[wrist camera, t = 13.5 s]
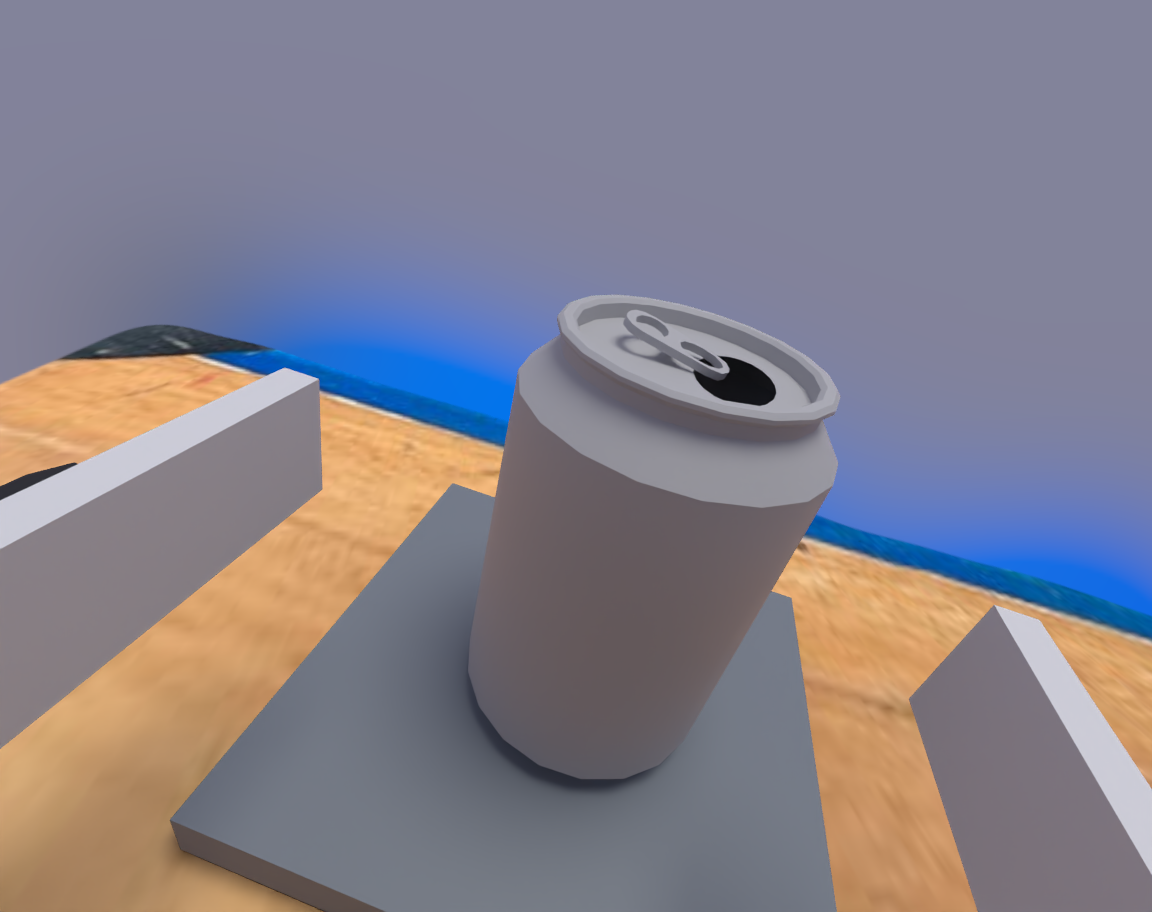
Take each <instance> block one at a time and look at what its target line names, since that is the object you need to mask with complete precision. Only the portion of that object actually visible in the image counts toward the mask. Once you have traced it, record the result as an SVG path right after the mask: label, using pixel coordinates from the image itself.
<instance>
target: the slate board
mask: <svg viewBox="0 0 1152 912" xmlns="http://www.w3.org/2000/svg"><path fill="white" fill-rule="evenodd" d="M494 502H495V498H494V497H491V496H489V495H486V494H483V493H480V492H477V491H474V490H471V489H468V488H465V487H462V486H459V485H456V484H452V485H451V486H450V487H449V488H448V489H447V491H446V492H445V493H444V494H443V495H442V497H441V498H440V499H439V500H438V501H437V503H436V504H435V505H434V506H433V507H432V509H431V510H430V511H429V512H428V513H427V514H426V516H425V517H424V518H423V519H422V520H421V522H420V523H419V524H418V525H417V526H416V528H415V529H414V530H413V531H412V532H411V534H410V535H409V536H408V537H407V538H406V539H405V541H404V542H403V543H402V544H401V545H400V547H399V548H398V549H397V550H396V551H395V553H394V554H393V555H392V556H391V557H390V559H389V560H388V561H387V562H386V563H385V564H384V566H383V567H382V568H381V569H380V570H379V572H378V573H377V574H376V575H375V576H374V578H373V579H372V580H371V581H370V582H369V583H368V585H367V586H366V587H365V588H364V589H363V591H362V592H361V593H360V594H359V595H358V597H357V598H356V599H355V600H354V601H353V603H352V604H351V605H350V606H349V607H348V608H347V610H346V611H345V612H344V613H343V614H342V616H341V617H340V618H339V619H338V620H337V622H336V623H335V624H334V625H333V626H332V628H331V629H330V630H329V631H328V632H327V633H326V635H325V636H324V637H323V638H322V639H321V641H320V642H319V643H318V644H317V645H316V647H315V648H314V649H313V650H312V651H311V653H310V654H309V655H308V656H307V657H306V658H305V660H304V661H303V662H302V663H301V664H300V666H299V667H298V668H297V669H296V670H295V672H294V673H293V674H292V675H291V676H290V678H289V679H288V680H287V681H286V682H285V683H284V685H283V686H282V687H281V688H280V689H279V691H278V692H277V693H276V694H275V695H274V697H273V698H272V699H271V700H270V701H269V703H268V704H267V705H266V706H265V707H264V708H263V710H262V711H261V712H260V713H259V714H258V716H257V717H256V718H255V719H254V720H253V722H252V723H251V724H250V725H249V726H248V728H247V729H246V730H245V731H244V732H243V733H242V735H241V736H240V737H239V738H238V739H237V741H236V742H235V743H234V744H233V745H232V747H231V748H230V749H229V750H228V751H227V753H226V754H225V755H224V756H223V757H222V758H221V760H220V761H219V762H218V763H217V764H216V766H215V767H214V768H213V769H212V770H211V772H210V773H209V774H208V775H207V776H206V778H205V779H204V780H203V781H202V782H201V783H200V785H199V786H198V787H197V788H196V789H195V791H194V792H193V793H192V794H191V795H190V797H189V798H188V799H187V800H186V801H185V802H184V804H183V805H182V806H181V807H180V808H179V810H178V811H177V812H176V813H175V814H174V816H173V817H172V818H171V819H170V822H171V825H172V827H173V830H174V833H175V836H176V838H177V841H178V844H179V847H180V849H181V850H183V851H186V852H188V853H190V854H193V855H195V856H197V857H200V858H202V859H204V860H207V861H209V862H211V863H213V864H216V865H218V866H220V867H223V868H225V869H227V870H230V871H232V872H234V873H237V874H239V875H241V876H244V877H246V878H248V879H251V880H253V881H255V882H258V883H260V884H262V885H265V886H267V887H269V888H272V889H274V890H276V891H279V892H281V893H283V894H286V895H288V896H290V897H293V898H295V899H297V900H300V901H302V902H304V903H307V904H309V905H311V906H314V907H316V908H318V909H321V910H323V911H325V912H837V910H836V903H835V896H834V889H833V882H832V875H831V868H830V861H829V854H828V848H827V841H826V834H825V827H824V820H823V813H822V806H821V799H820V792H819V785H818V778H817V771H816V765H815V758H814V751H813V744H812V737H811V730H810V723H809V716H808V709H807V702H806V695H805V688H804V682H803V675H802V668H801V661H800V654H799V647H798V640H797V633H796V626H795V619H794V612H793V605H792V599H791V598H790V597H787V596H784V595H781V594H778V593H775V592H772V591H771V592H770V594H769V596H768V597H767V599H766V601H765V603H764V604H763V606H762V608H761V609H760V611H759V613H758V615H757V616H756V618H755V620H754V621H753V623H752V625H751V626H750V628H749V630H748V632H747V633H746V635H745V637H744V638H743V640H742V642H741V644H740V645H739V647H738V649H737V650H736V652H735V654H734V656H733V657H732V659H731V661H730V662H729V664H728V666H727V668H726V669H725V671H724V673H723V674H722V676H721V678H720V680H719V681H718V683H717V685H716V686H715V688H714V690H713V691H712V693H711V695H710V697H709V698H708V700H707V702H706V703H705V705H704V707H703V709H702V710H701V712H700V714H699V715H698V717H697V719H696V721H695V722H694V724H693V726H692V727H691V729H690V731H689V733H688V734H687V736H686V738H685V739H684V741H683V742H682V743H681V744H680V745H679V746H678V747H677V748H676V749H675V750H674V751H673V752H672V753H671V754H670V755H669V756H668V757H667V758H666V759H665V760H664V761H663V762H662V763H661V764H660V765H658V766H655V767H653V768H650V769H648V770H645V771H642V772H640V773H637V774H635V775H632V776H630V777H627V778H624V779H579V778H576V777H573V776H570V775H567V774H564V773H561V772H558V771H555V770H552V769H549V768H546V767H543V766H540V765H538V764H537V763H535V762H534V761H532V760H531V759H530V758H528V757H527V756H526V755H524V754H523V753H521V752H520V751H519V750H517V749H516V748H514V747H513V746H512V745H510V744H509V743H508V742H506V741H505V740H503V738H502V737H501V736H500V734H499V733H498V732H497V730H496V729H495V728H494V726H493V725H492V723H491V722H490V721H489V719H488V718H487V717H486V715H485V714H484V712H483V711H482V710H481V708H480V707H479V705H478V702H477V699H476V695H475V692H474V689H473V686H472V683H471V679H470V676H469V673H468V662H469V645H470V635H471V630H472V624H473V619H474V613H475V607H476V602H477V596H478V591H479V585H480V580H481V574H482V569H483V563H484V558H485V552H486V546H487V541H488V535H489V530H490V524H491V519H492V513H493V508H494Z"/></svg>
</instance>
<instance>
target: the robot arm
mask: <svg viewBox="0 0 1152 912" xmlns="http://www.w3.org/2000/svg"><path fill="white" fill-rule="evenodd" d="M321 490H322V462H321V429H320V397H319V379H317V378H314V377H311V376H308V375H305V374H302V373H299V372H296V371H293V370H290V369H287V368H283V369H281V370H279V371H277V372H274V373H272V374H270V375H268V376H266V377H264V378H262V379H259V380H257V381H255V382H253V383H251V384H249V385H247V386H244V387H242V388H240V389H238V390H236V391H234V392H232V393H229V394H227V395H225V396H223V397H221V398H219V399H217V400H214V401H212V402H210V403H208V404H206V405H204V406H202V407H199V408H197V409H195V410H193V411H191V412H189V413H187V414H184V415H182V416H180V417H178V418H176V419H174V420H172V421H169V422H167V423H165V424H163V425H161V426H159V427H157V428H154V429H152V430H150V431H148V432H146V433H144V434H142V435H139V436H137V437H135V438H133V439H131V440H129V441H127V442H124V443H122V444H120V445H118V446H116V447H114V448H112V449H109V450H107V451H105V452H103V453H101V454H99V455H97V456H94V457H92V458H90V459H88V460H86V461H84V462H82V463H79V464H77V463H70V464H66V465H63V466H59V467H55V468H51V469H47V470H43V471H39V472H35V473H31V474H27V475H25V476H22V477H20V478H18V479H16V480H14V481H11V482H9V483H7V484H5V485H2V486H0V749H1V748H2V747H3V746H4V745H6V744H7V743H8V742H9V741H11V740H12V739H13V738H14V737H15V736H17V735H18V734H19V733H20V732H22V731H23V730H24V729H25V728H27V727H28V726H29V725H30V724H32V723H33V722H34V721H35V720H37V719H38V718H39V717H40V716H42V715H43V714H44V713H45V712H47V711H48V710H49V709H50V708H51V707H53V706H54V705H55V704H56V703H58V702H59V701H60V700H61V699H63V698H64V697H65V696H66V695H68V694H69V693H70V692H71V691H73V690H74V689H75V688H76V687H78V686H79V685H80V684H81V683H83V682H84V681H85V680H86V679H87V678H89V677H90V676H91V675H92V674H94V673H95V672H96V671H97V670H99V669H100V668H101V667H102V666H104V665H105V664H106V663H107V662H109V661H110V660H111V659H112V658H114V657H115V656H116V655H117V654H119V653H120V652H121V651H122V650H123V649H125V648H126V647H127V646H128V645H130V644H131V643H132V642H133V641H135V640H136V639H137V638H138V637H140V636H141V635H142V634H143V633H145V632H146V631H147V630H148V629H150V628H151V627H152V626H153V625H155V624H156V623H157V622H158V621H159V620H161V619H162V618H163V617H164V616H166V615H167V614H168V613H169V612H171V611H172V610H173V609H174V608H176V607H177V606H178V605H179V604H181V603H182V602H183V601H184V600H186V599H187V598H188V597H189V596H191V595H192V594H193V593H194V592H195V591H197V590H198V589H199V588H200V587H202V586H203V585H204V584H205V583H207V582H208V581H209V580H210V579H212V578H213V577H214V576H215V575H217V574H218V573H219V572H220V571H222V570H223V569H224V568H225V567H227V566H228V565H229V564H230V563H231V562H233V561H234V560H235V559H236V558H238V557H239V556H240V555H241V554H243V553H244V552H245V551H246V550H248V549H249V548H250V547H251V546H253V545H254V544H255V543H256V542H258V541H259V540H260V539H261V538H263V537H264V536H265V535H266V534H267V533H269V532H270V531H271V530H272V529H274V528H275V527H276V526H277V525H279V524H280V523H281V522H282V521H284V520H285V519H286V518H287V517H289V516H290V515H291V514H292V513H294V512H295V511H296V510H297V509H299V508H300V507H301V506H302V505H303V504H305V503H306V502H307V501H308V500H310V499H311V498H312V497H313V496H315V495H316V494H317V493H318V492H320V491H321ZM909 701H910V704H911V707H912V710H913V713H914V716H915V719H916V722H917V725H918V728H919V732H920V735H921V738H922V741H923V744H924V747H925V750H926V753H927V756H928V759H929V762H930V765H931V768H932V772H933V775H934V778H935V781H936V784H937V787H938V790H939V793H940V796H941V799H942V802H943V805H944V809H945V812H946V815H947V818H948V821H949V824H950V827H951V830H952V833H953V836H954V839H955V842H956V845H957V849H958V852H959V855H960V858H961V861H962V864H963V867H964V870H965V873H966V876H967V879H968V882H969V886H970V889H971V892H972V895H973V898H974V901H975V904H976V907H977V910H978V912H1152V789H1151V787H1150V786H1149V784H1148V783H1147V781H1146V780H1145V778H1144V777H1143V775H1142V774H1141V772H1140V771H1139V769H1138V768H1137V766H1136V765H1135V763H1134V762H1133V760H1132V759H1131V757H1130V756H1129V754H1128V753H1127V751H1126V750H1125V748H1124V747H1123V745H1122V744H1121V742H1120V741H1119V739H1118V738H1117V736H1116V735H1115V733H1114V732H1113V730H1112V729H1111V727H1110V726H1109V724H1108V723H1107V721H1106V720H1105V718H1104V717H1103V715H1102V714H1101V712H1100V711H1099V709H1098V708H1097V706H1096V704H1095V703H1094V701H1093V700H1092V698H1091V697H1090V695H1089V694H1088V692H1087V691H1086V689H1085V688H1084V686H1083V685H1082V683H1081V682H1080V680H1079V679H1078V677H1077V676H1076V674H1075V673H1074V671H1073V670H1072V668H1071V667H1070V665H1069V664H1068V662H1067V661H1066V659H1065V658H1064V656H1063V655H1062V653H1061V652H1060V650H1059V649H1058V647H1057V646H1056V644H1055V643H1054V641H1053V640H1052V638H1051V637H1050V635H1049V634H1048V632H1047V631H1046V629H1045V628H1044V626H1043V625H1042V623H1041V622H1040V620H1038V619H1035V618H1032V617H1029V616H1026V615H1023V614H1020V613H1017V612H1014V611H1011V610H1008V609H1005V608H1002V607H999V606H996V605H994V606H993V607H992V608H991V609H990V610H989V611H988V612H987V613H986V614H985V616H984V617H983V618H982V619H981V620H980V621H979V622H978V623H977V624H976V626H975V627H974V628H973V629H972V630H971V631H970V632H969V633H968V634H967V635H966V637H965V638H964V639H963V640H962V641H961V642H960V643H959V644H958V645H957V646H956V648H955V649H954V650H953V651H952V652H951V653H950V654H949V655H948V656H947V657H946V659H945V660H944V661H943V662H942V663H941V664H940V665H939V666H938V667H937V668H936V670H935V671H934V672H933V673H932V674H931V675H930V676H929V677H928V678H927V680H926V681H925V682H924V683H923V684H922V685H921V686H920V687H919V688H918V689H917V691H916V692H915V693H914V694H913V695H912V696H911V697H910V698H909Z"/></svg>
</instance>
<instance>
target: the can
mask: <svg viewBox="0 0 1152 912" xmlns="http://www.w3.org/2000/svg"><path fill="white" fill-rule="evenodd" d="M557 321H558V326H559V330H560V335H558V336H557V337H555V338H554V339H552V340H551V341H549V342H548V343H546V344H545V345H543V346H542V347H540V348H539V349H537V350H536V351H534V352H533V353H531V355H530V356H529V357H528V359H527V360H526V361H525V362H524V363H523V365H522V366H521V367H520V368H519V370H518V374H517V380H516V386H515V391H514V397H513V402H512V408H511V413H510V419H509V424H508V430H507V435H506V441H505V447H504V452H503V458H502V463H501V469H500V474H499V480H498V485H497V491H496V496H495V502H494V508H493V513H492V519H491V524H490V530H489V535H488V541H487V546H486V552H485V558H484V563H483V569H482V574H481V580H480V585H479V591H478V596H477V602H476V607H475V613H474V619H473V624H472V630H471V635H470V645H469V662H468V673H469V676H470V679H471V683H472V686H473V689H474V692H475V695H476V699H477V702H478V705H479V707H480V708H481V710H482V711H483V712H484V714H485V715H486V717H487V718H488V719H489V721H490V722H491V723H492V725H493V726H494V728H495V729H496V730H497V732H498V733H499V734H500V736H501V737H502V738H503V740H505V741H506V742H508V743H509V744H510V745H512V746H513V747H514V748H516V749H517V750H519V751H520V752H521V753H523V754H524V755H526V756H527V757H528V758H530V759H531V760H532V761H534V762H535V763H537V764H538V765H540V766H543V767H546V768H549V769H552V770H555V771H558V772H561V773H564V774H567V775H570V776H573V777H576V778H579V779H624V778H627V777H630V776H632V775H635V774H637V773H640V772H642V771H645V770H648V769H650V768H653V767H655V766H658V765H660V764H661V763H662V762H663V761H664V760H665V759H666V758H667V757H668V756H669V755H670V754H671V753H672V752H673V751H674V750H675V749H676V748H677V747H678V746H679V745H680V744H681V743H682V742H683V741H684V739H685V738H686V736H687V734H688V733H689V731H690V729H691V727H692V726H693V724H694V722H695V721H696V719H697V717H698V715H699V714H700V712H701V710H702V709H703V707H704V705H705V703H706V702H707V700H708V698H709V697H710V695H711V693H712V691H713V690H714V688H715V686H716V685H717V683H718V681H719V680H720V678H721V676H722V674H723V673H724V671H725V669H726V668H727V666H728V664H729V662H730V661H731V659H732V657H733V656H734V654H735V652H736V650H737V649H738V647H739V645H740V644H741V642H742V640H743V638H744V637H745V635H746V633H747V632H748V630H749V628H750V626H751V625H752V623H753V621H754V620H755V618H756V616H757V615H758V613H759V611H760V609H761V608H762V606H763V604H764V603H765V601H766V599H767V597H768V596H769V594H770V592H771V591H772V589H773V587H774V585H775V584H776V582H777V580H778V579H779V577H780V575H781V573H782V572H783V570H784V568H785V567H786V565H787V563H788V561H789V560H790V558H791V556H792V555H793V553H794V551H795V550H796V548H797V546H798V544H799V543H800V541H801V539H802V538H803V536H804V534H805V532H806V531H807V529H808V527H809V526H810V524H811V522H812V520H813V519H814V517H815V515H816V514H817V512H818V510H819V508H820V507H821V505H822V503H823V501H824V500H825V498H826V496H827V495H828V493H829V491H830V489H831V488H832V486H833V483H834V479H835V475H836V471H837V466H838V461H837V459H836V456H835V453H834V450H833V447H832V445H831V442H830V439H829V436H828V434H827V431H826V428H825V425H824V422H823V419H825V418H828V417H830V416H833V415H834V414H835V412H836V409H837V406H838V403H839V399H840V394H839V392H838V390H837V388H836V387H835V385H834V383H833V382H832V380H831V378H830V376H829V375H828V374H827V373H826V372H825V371H824V370H823V369H822V368H820V367H819V366H818V365H817V364H816V363H814V362H813V361H812V360H811V359H810V358H808V357H807V356H805V355H804V354H802V353H800V352H799V351H797V350H795V349H794V348H792V347H790V346H789V345H787V344H785V343H784V342H782V341H780V340H778V339H776V338H774V337H771V336H769V335H767V334H765V333H763V332H760V331H758V330H756V329H754V328H752V327H749V326H747V325H744V324H742V323H739V322H736V321H733V320H731V319H728V318H725V317H722V316H720V315H717V314H714V313H710V312H707V311H703V310H699V309H696V308H693V307H689V306H685V305H681V304H677V303H672V302H667V301H662V300H657V299H652V298H645V297H635V296H625V295H601V296H600V295H599V296H589V297H586V298H582V299H579V300H576V301H573V302H570V303H569V304H567V305H566V306H565V308H564V309H563V310H562V311H561V312H560V314H559V315H558V318H557Z"/></svg>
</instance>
